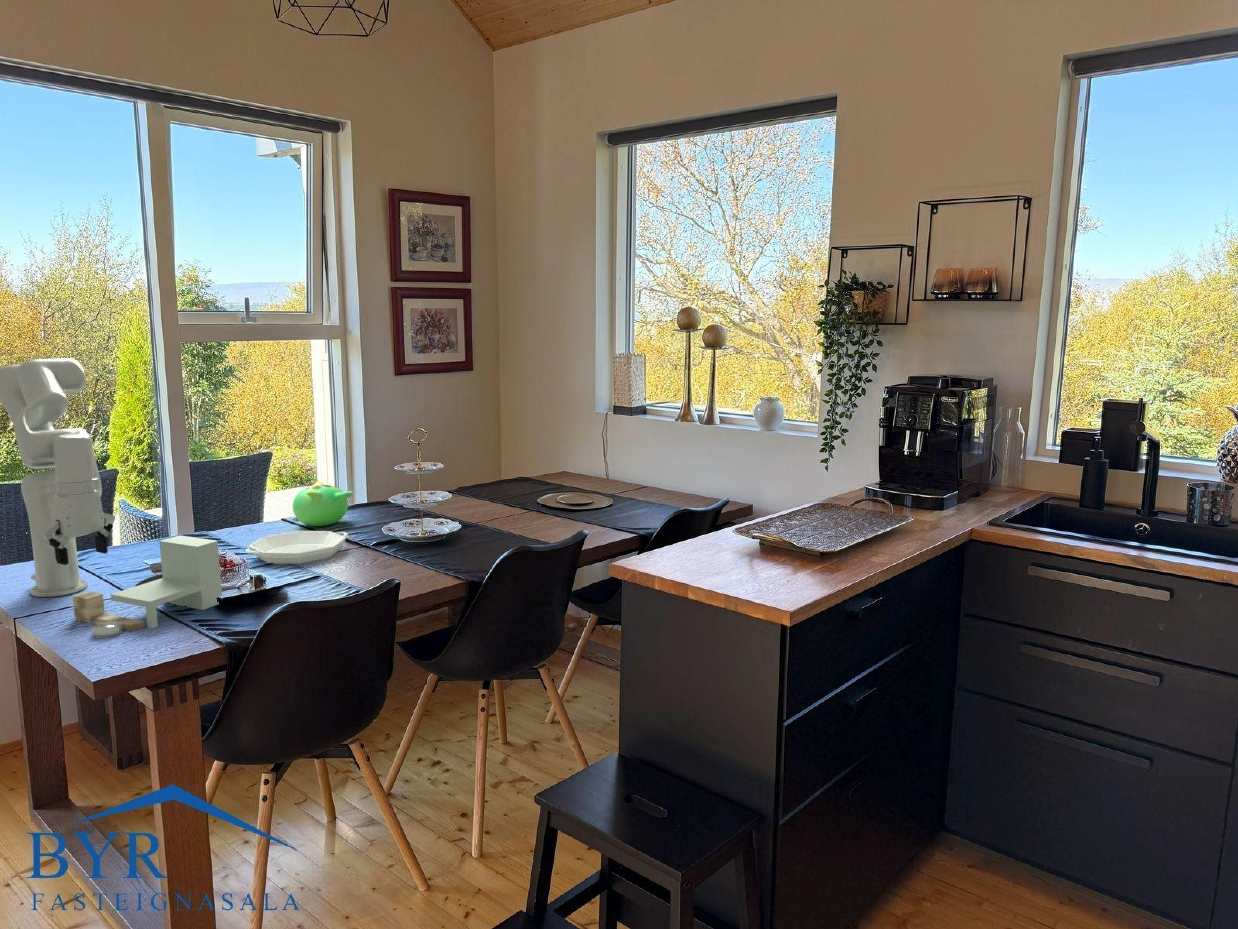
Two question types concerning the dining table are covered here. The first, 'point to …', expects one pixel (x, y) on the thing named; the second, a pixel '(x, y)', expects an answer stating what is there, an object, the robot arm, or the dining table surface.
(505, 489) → the dining table surface
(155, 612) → the pale green shelf block
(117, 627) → the steel token
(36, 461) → the robot arm
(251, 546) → the pan
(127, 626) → the wooden mallet tool
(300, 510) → the green teapot
